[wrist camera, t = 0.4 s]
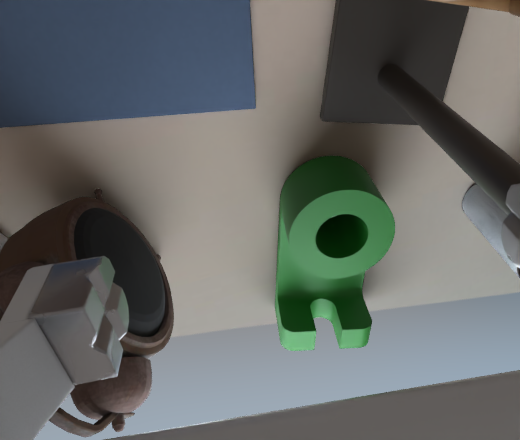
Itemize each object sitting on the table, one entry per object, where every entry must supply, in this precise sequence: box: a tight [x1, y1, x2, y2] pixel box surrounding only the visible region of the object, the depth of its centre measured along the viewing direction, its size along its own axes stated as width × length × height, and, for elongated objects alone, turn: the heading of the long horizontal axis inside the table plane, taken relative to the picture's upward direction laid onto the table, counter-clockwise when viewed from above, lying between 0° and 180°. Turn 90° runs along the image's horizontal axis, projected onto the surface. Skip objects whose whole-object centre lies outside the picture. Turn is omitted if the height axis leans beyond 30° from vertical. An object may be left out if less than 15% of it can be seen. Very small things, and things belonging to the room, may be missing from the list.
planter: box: [462, 184, 520, 278], centre depth 42 cm, size 4×4×10 cm
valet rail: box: [320, 0, 520, 215], centre depth 25 cm, size 18×10×27 cm, turn 176°
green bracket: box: [275, 156, 395, 351], centre depth 45 cm, size 18×9×6 cm, turn 179°
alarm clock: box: [0, 188, 174, 437], centre depth 37 cm, size 14×7×20 cm, turn 30°
